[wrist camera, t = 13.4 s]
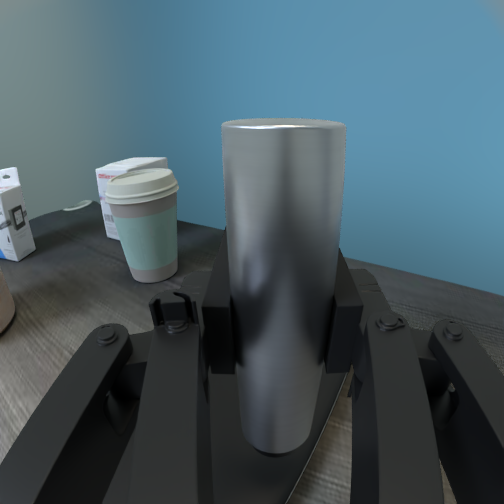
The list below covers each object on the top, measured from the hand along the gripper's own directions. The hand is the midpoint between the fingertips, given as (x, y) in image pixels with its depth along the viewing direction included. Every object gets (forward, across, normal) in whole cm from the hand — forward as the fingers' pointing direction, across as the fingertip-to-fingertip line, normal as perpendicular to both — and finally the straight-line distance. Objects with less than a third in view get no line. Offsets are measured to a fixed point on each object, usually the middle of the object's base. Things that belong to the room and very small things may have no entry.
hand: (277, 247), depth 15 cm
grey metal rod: (-5, 0, -7) cm, 9 cm away
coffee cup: (+20, -14, -13) cm, 28 cm away
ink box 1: (+25, -44, -13) cm, 52 cm away
